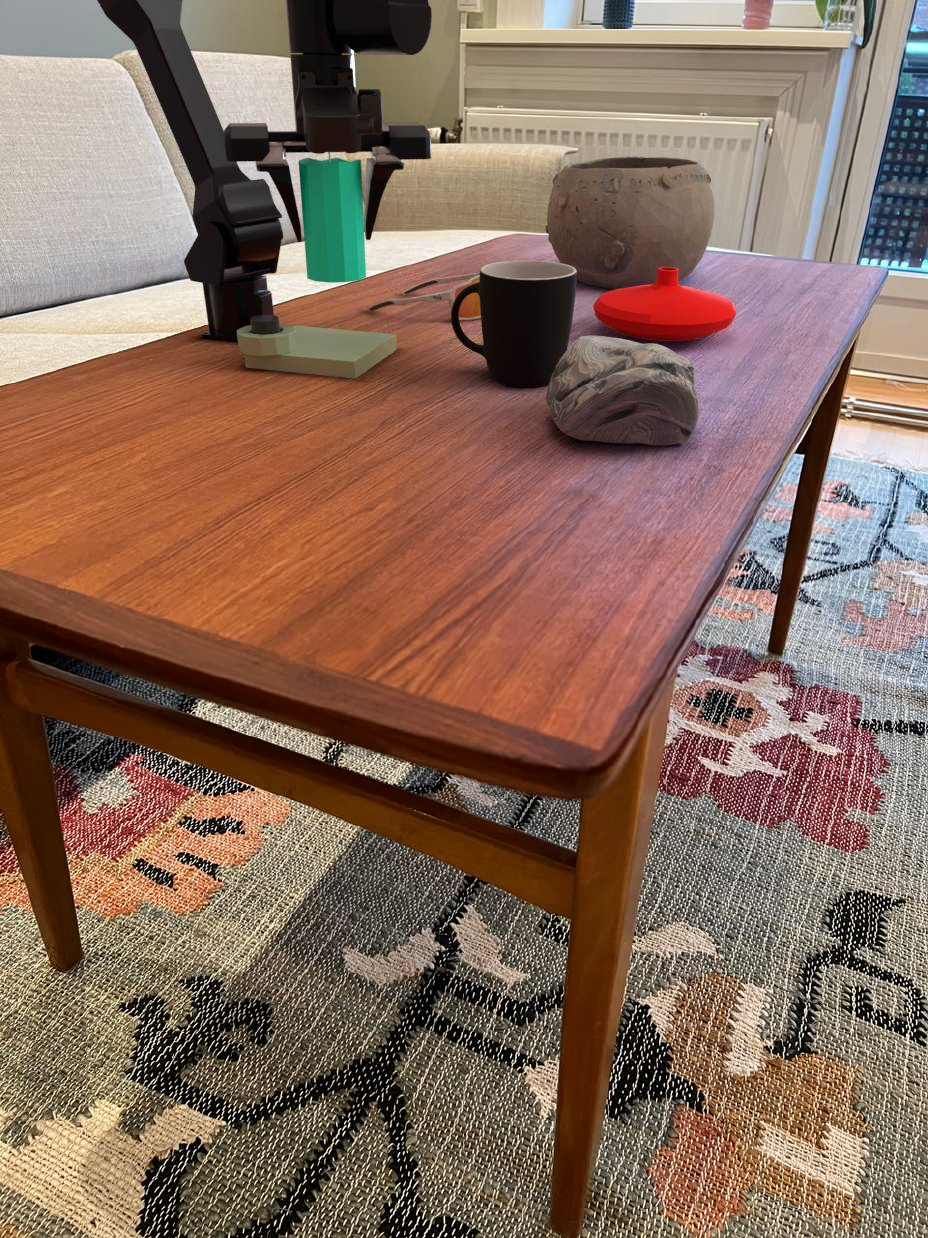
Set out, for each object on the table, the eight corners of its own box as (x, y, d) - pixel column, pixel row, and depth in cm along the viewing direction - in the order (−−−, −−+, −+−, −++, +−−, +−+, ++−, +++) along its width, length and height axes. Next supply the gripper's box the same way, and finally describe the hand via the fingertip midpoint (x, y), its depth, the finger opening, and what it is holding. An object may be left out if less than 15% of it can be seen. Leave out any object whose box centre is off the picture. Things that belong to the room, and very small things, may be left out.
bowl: (594, 256, 146) (601, 149, 138) (733, 274, 134) (750, 158, 126) (513, 281, 130) (516, 162, 122) (663, 303, 118) (678, 173, 110)
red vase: (640, 359, 96) (647, 288, 92) (566, 325, 108) (569, 261, 105) (762, 344, 102) (774, 276, 98) (679, 312, 114) (686, 251, 110)
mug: (579, 369, 93) (586, 263, 88) (557, 396, 86) (564, 281, 80) (466, 358, 96) (466, 255, 91) (436, 383, 89) (434, 272, 84)
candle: (374, 279, 92) (369, 143, 85) (315, 284, 90) (305, 145, 83) (356, 268, 96) (349, 138, 90) (299, 272, 94) (289, 139, 88)
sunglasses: (476, 325, 107) (471, 280, 105) (362, 332, 113) (355, 289, 111) (516, 300, 119) (512, 259, 116) (411, 307, 124) (405, 268, 122)
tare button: (246, 336, 92) (245, 320, 91) (260, 329, 94) (258, 313, 93) (272, 338, 91) (270, 322, 90) (285, 331, 93) (284, 315, 93)
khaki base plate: (230, 370, 93) (226, 334, 91) (286, 340, 103) (283, 307, 101) (350, 382, 89) (348, 345, 87) (396, 350, 99) (395, 316, 97)
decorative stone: (593, 353, 86) (628, 255, 78) (716, 432, 82) (766, 338, 75) (499, 420, 78) (527, 319, 70) (631, 511, 74) (677, 415, 66)
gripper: (213, 53, 75) (236, 258, 83) (441, 55, 78) (442, 252, 86) (215, 53, 84) (236, 237, 92) (419, 54, 87) (422, 232, 95)
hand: (333, 240), depth 91 cm, fingers closed on candle, 6 cm apart
